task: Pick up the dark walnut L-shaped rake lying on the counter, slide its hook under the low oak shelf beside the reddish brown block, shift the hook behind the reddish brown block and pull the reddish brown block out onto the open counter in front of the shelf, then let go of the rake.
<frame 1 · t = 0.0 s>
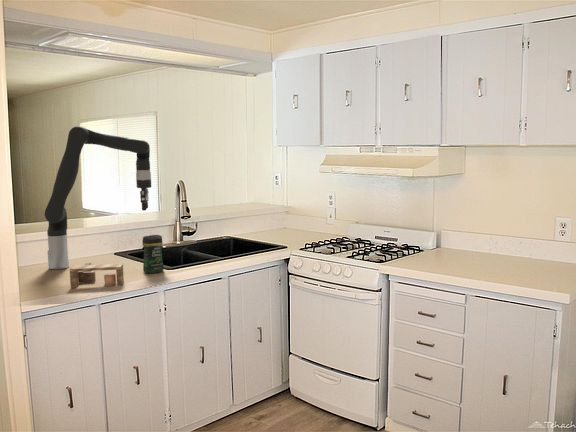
hand: (145, 209, 289), 29 cm above the worktop, tool pointing down, fingers open, 8 cm apart
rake: (87, 275, 270), on the worktop
shelf: (97, 284, 250), on the worktop
coffee jar: (153, 272, 274), on the worktop
reddish brown block: (110, 284, 251), on the worktop
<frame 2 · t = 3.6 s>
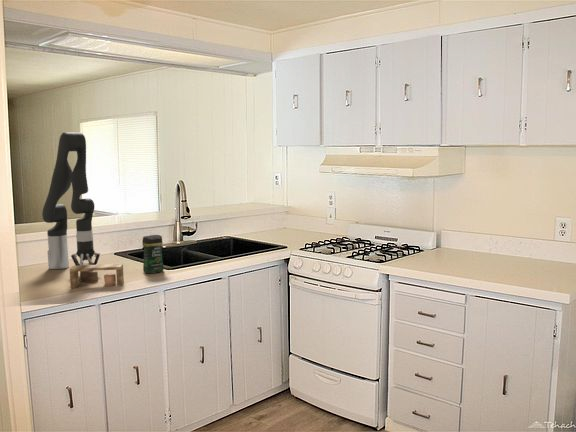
hand: (86, 273, 270), 0 cm above the worktop, tool pointing down, fingers open, 3 cm apart
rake: (86, 275, 270), on the worktop, touching gripper
everything else where it was.
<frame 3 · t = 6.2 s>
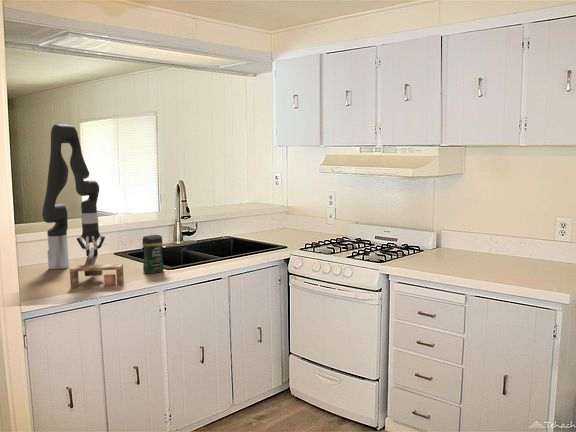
hand: (92, 256, 268), 9 cm above the worktop, tool pointing down, fingers closed on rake, 2 cm apart
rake: (93, 260, 269), point 7 cm above the worktop, tilted 17°, touching gripper
everything else where it was.
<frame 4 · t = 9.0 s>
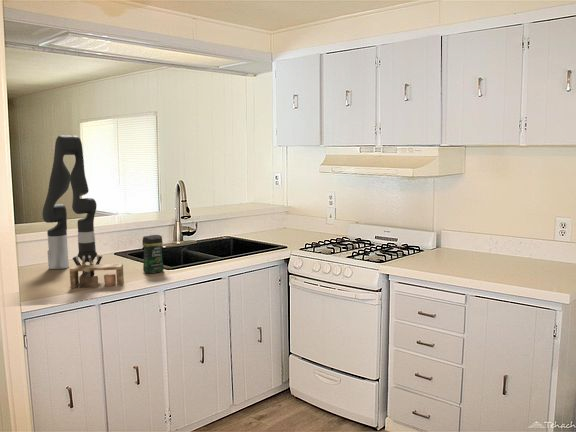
hand: (88, 276, 259), 2 cm above the worktop, tool pointing down, fingers closed on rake, 2 cm apart
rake: (89, 279, 260), on the worktop, touching gripper
everything else where it was.
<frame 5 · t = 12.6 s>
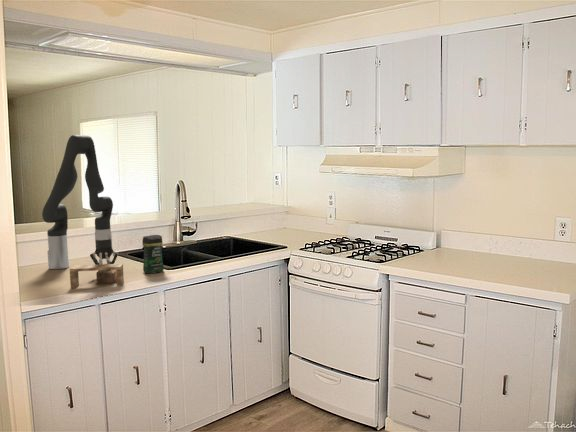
hand: (105, 273, 266), 2 cm above the worktop, tool pointing down, fingers closed on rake, 2 cm apart
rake: (105, 275, 267), on the worktop, touching gripper, reddish brown block
reddish brown block: (113, 280, 258), on the worktop, touching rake
everything else where it was.
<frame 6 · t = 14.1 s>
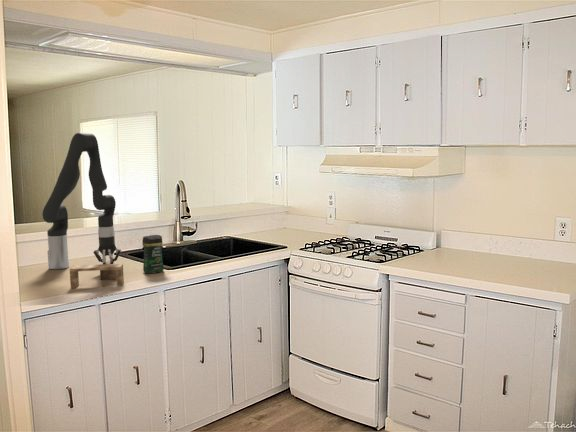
hand: (108, 269, 274), 2 cm above the worktop, tool pointing down, fingers closed on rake, 2 cm apart
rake: (108, 272, 274), on the worktop, touching gripper
reddish brown block: (116, 276, 265), on the worktop
everything else where it was.
when the fingers open (2 cm above the worktop, at t = 14.2 s): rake stays where it is, on the worktop.
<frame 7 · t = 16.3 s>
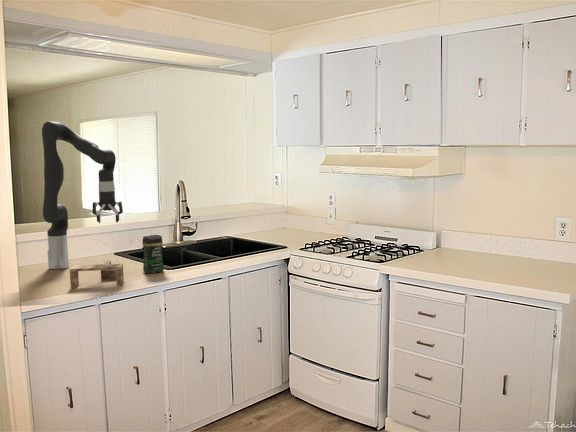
hand: (108, 222, 274), 25 cm above the worktop, tool pointing down, fingers open, 8 cm apart
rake: (107, 272, 274), on the worktop
everything else where it was.
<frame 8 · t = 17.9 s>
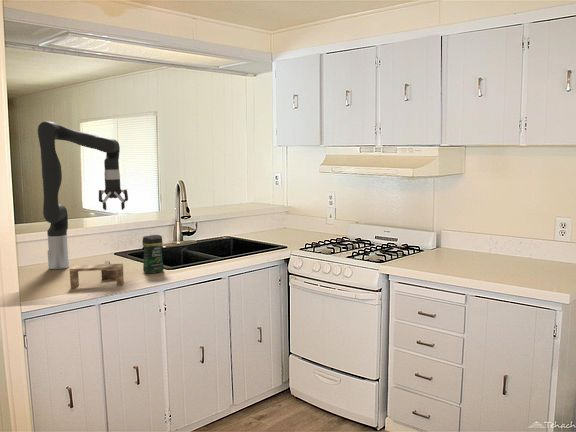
hand: (114, 209, 282), 30 cm above the worktop, tool pointing down, fingers open, 8 cm apart
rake: (107, 272, 274), on the worktop, touching reddish brown block
reddish brown block: (116, 276, 265), on the worktop, touching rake
everything else where it was.
at the end: reddish brown block inside the target area (1.0 cm from its centre), on the worktop; reddish brown block tilted 0° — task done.
